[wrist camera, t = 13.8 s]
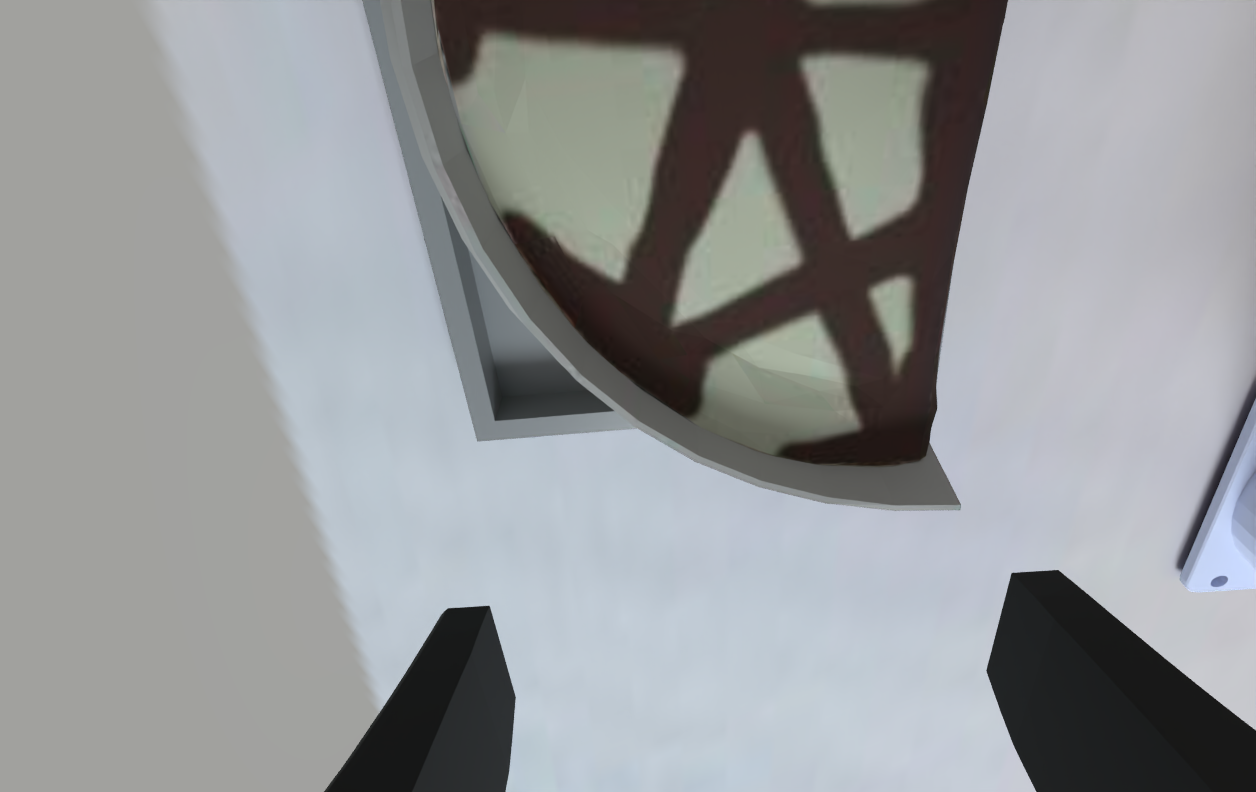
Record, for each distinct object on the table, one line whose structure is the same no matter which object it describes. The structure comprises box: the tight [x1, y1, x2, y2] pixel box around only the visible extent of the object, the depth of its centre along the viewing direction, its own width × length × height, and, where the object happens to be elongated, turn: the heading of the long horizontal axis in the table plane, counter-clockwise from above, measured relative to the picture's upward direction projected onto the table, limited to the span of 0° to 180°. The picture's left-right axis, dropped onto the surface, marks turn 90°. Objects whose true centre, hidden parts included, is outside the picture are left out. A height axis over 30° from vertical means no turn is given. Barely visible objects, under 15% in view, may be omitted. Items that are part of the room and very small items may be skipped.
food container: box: [380, 0, 1008, 511], centre depth 10 cm, size 12×6×10 cm, turn 6°
